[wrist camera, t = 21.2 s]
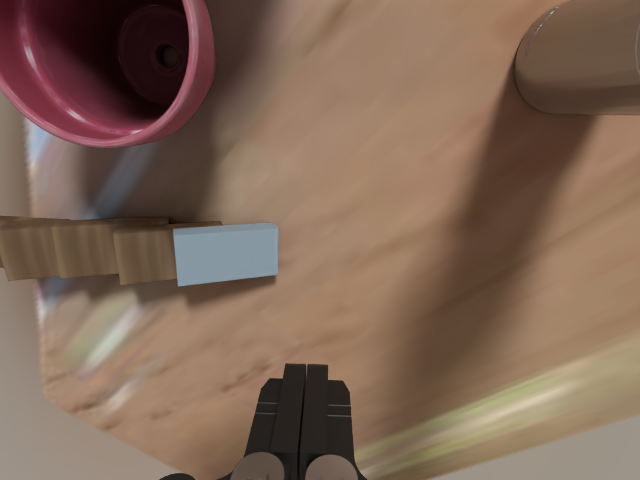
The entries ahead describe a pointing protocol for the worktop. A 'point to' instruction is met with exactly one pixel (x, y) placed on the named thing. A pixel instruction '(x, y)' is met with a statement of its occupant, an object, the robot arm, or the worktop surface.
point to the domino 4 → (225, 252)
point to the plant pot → (106, 66)
